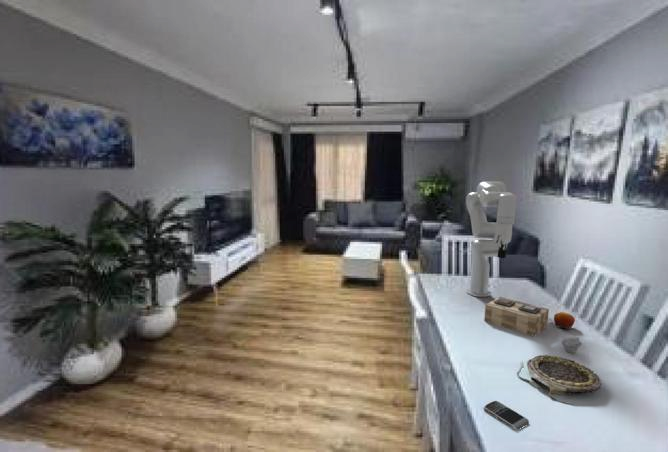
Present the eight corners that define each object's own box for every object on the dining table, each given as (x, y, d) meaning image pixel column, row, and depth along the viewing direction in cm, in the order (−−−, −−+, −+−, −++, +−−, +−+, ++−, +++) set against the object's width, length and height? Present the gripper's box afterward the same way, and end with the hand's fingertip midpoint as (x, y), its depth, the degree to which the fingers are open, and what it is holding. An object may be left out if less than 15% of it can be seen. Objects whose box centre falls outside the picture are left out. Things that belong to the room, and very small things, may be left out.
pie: (526, 353, 143) (528, 341, 142) (614, 380, 126) (616, 366, 125) (508, 385, 121) (509, 371, 121) (610, 422, 105) (613, 406, 104)
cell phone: (494, 403, 112) (495, 399, 112) (530, 425, 103) (530, 420, 102) (481, 410, 109) (482, 406, 108) (517, 433, 99) (517, 428, 99)
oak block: (498, 312, 184) (499, 295, 182) (546, 325, 168) (548, 307, 167) (484, 320, 173) (485, 302, 172) (534, 336, 157) (536, 316, 156)
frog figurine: (572, 357, 140) (574, 340, 138) (556, 348, 146) (558, 332, 145) (584, 355, 141) (586, 338, 140) (568, 347, 148) (570, 330, 147)
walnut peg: (500, 316, 177) (502, 299, 176) (509, 319, 174) (510, 301, 173) (497, 318, 174) (498, 301, 173) (505, 321, 172) (507, 303, 170)
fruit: (554, 326, 164) (555, 309, 166) (552, 329, 170) (553, 312, 173) (575, 330, 160) (576, 312, 163) (573, 333, 166) (573, 316, 169)
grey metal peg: (524, 323, 169) (526, 305, 168) (534, 326, 166) (536, 307, 165) (521, 326, 166) (523, 307, 165) (530, 328, 164) (532, 310, 162)
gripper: (503, 217, 181) (499, 253, 185) (490, 220, 171) (487, 258, 174) (519, 219, 176) (515, 256, 180) (507, 223, 166) (503, 262, 169)
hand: (501, 257), depth 177 cm, fingers closed
